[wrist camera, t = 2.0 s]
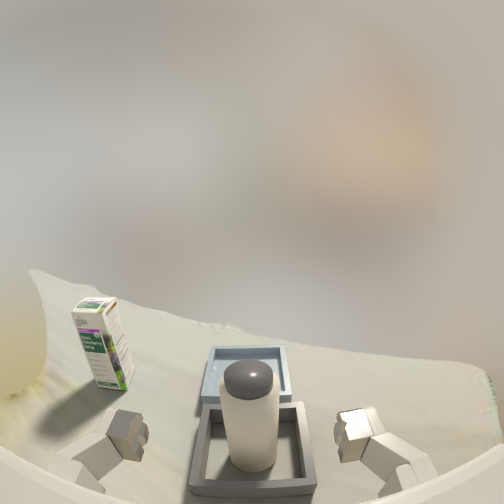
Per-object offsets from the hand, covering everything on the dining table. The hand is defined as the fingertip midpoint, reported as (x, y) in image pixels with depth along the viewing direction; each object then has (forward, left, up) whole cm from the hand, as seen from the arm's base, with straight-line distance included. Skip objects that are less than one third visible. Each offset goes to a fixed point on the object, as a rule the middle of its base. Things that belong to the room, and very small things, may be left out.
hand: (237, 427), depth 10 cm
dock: (0, +12, -22) cm, 25 cm away
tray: (-1, +27, -22) cm, 35 cm away
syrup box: (-23, +25, -22) cm, 40 cm away
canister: (0, +12, -22) cm, 25 cm away
